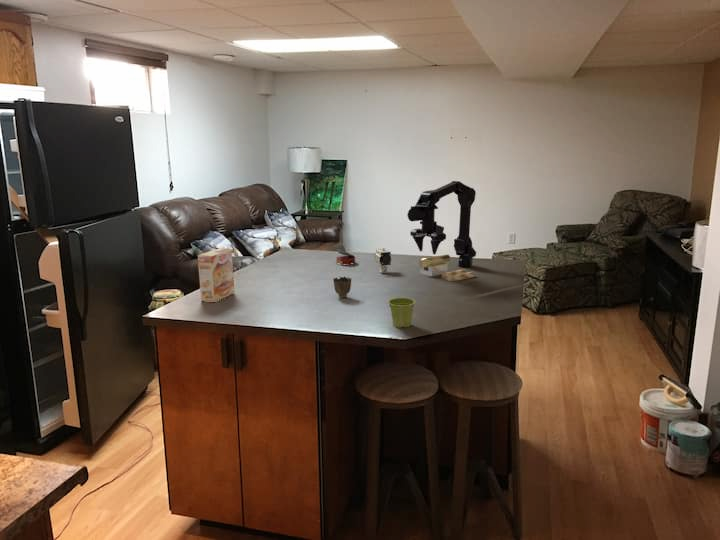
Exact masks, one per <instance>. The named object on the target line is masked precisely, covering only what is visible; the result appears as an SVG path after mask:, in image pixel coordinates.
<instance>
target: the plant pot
mask: <svg viewBox="0 0 720 540" xmlns="http://www.w3.org/2000/svg"><path fill="white" fill-rule="evenodd" d="M387 303H388V304H389V308H390V312H391V318H392V325H393V326H394V327H395V328H408V327H410V326H411V324H412V320H413V319H412V317H413V310H414V308H415V304H416V300H415V299H413V298H409V297H397V298H390V299H389V300H388V301H387Z"/></svg>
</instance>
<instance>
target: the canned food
mask: <svg viewBox="0 0 720 540" xmlns="http://www.w3.org/2000/svg"><path fill="white" fill-rule="evenodd" d="M336 252H337V253H338V254H340V255H341V256H337V257H336V261H335V262H336V264H337V263H340V264H351V263H355V264H356V256H355V255H353V254H351V253H349V252H347V251H345V250H343V249H340V248H337V249H336Z"/></svg>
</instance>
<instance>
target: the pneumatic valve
mask: <svg viewBox="0 0 720 540" xmlns="http://www.w3.org/2000/svg"><path fill="white" fill-rule="evenodd" d="M391 253H392V252H391V251H389V250H388V249H387V248H378V249H377V248H376V249H375V252H374V260H375V262H376V263H377V264H379V266H378V267H379V270H378V272H379V273H380V274H381V275H382V274H388V268H389V267H388V266H391V265H392V254H391Z"/></svg>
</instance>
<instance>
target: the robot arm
mask: <svg viewBox="0 0 720 540" xmlns="http://www.w3.org/2000/svg"><path fill="white" fill-rule="evenodd" d="M452 193H454V194H455V195H457V196H456V197H457V201H458V203H459V206H460V207H459V208H460V210H459V211H460V213H459V225H458V226H459V229H458V236H457V237H456V238H454V242H453V248H454V252H455V255H456V256H458V266H457V267H458V268H461V269H462V268H463V269H466V268H472V266H473V261H474V260H473V259H474V257H476V256H477V251H476V250H475V248H474V247H473V242H472V238H471V237H470V230H471V229H470V227H471V210H472V209H471V208H472V205H473V204H474V202H475V200H476V190H475V189H474V188H473V187H470V186H468V185H467V184H464V183H463V182H461V181H459V180H458V181H457V180H452V181H451V182H450V183H447V184H445V185H443V186H440V187H437V188H436V189H432V190H425V191H422V192H421V193H420V196H419V197H418V199H417V202H416V203H415V205H411V206H410V209H408V211H407V218H408V220H409V221H410V222H418V221H419V224H420V225H421V228H414V229H413V228H412V229H411V230H410V236H412V237H411V238H413V240H414V243H415V244H416V246H417V249H418V250H419V252H423V249H424V248H423V247H424V238H426V237H429V238H430V244H431V245H430V246H431V251H432V254H433V255H436V254H437V252H438V249H439V245H441V243H442V242H444V241H445V240H447V235H446V233H444V229H445V227H444V226H441V225H439V224H438V222H437V221H435V212H436V211H435V210H438V209H439V207H438V206H437V205H436V204H437V203H438V202H439V201H441V199H442V198H444V197H446V196H448V195H450V194H452Z"/></svg>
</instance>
